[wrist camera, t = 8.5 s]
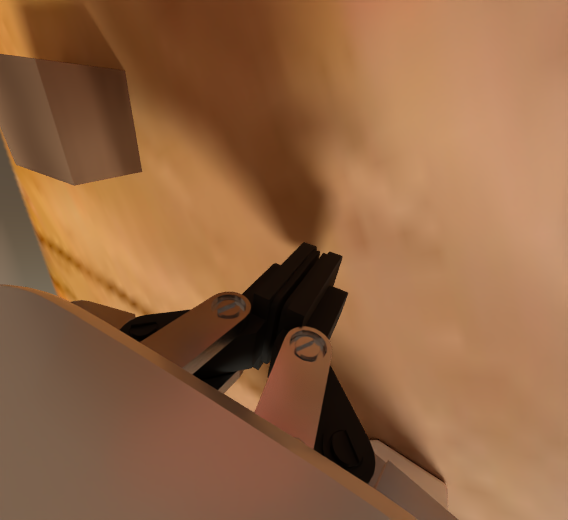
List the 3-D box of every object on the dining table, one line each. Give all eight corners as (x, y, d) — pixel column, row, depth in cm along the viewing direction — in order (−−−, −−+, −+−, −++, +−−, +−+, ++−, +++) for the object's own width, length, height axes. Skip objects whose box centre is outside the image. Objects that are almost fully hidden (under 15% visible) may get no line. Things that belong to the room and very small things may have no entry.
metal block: (127, 70, 13) (34, 58, 10) (143, 171, 16) (74, 185, 13) (65, 62, 15) (-32, 49, 12) (89, 155, 18) (16, 164, 15)
